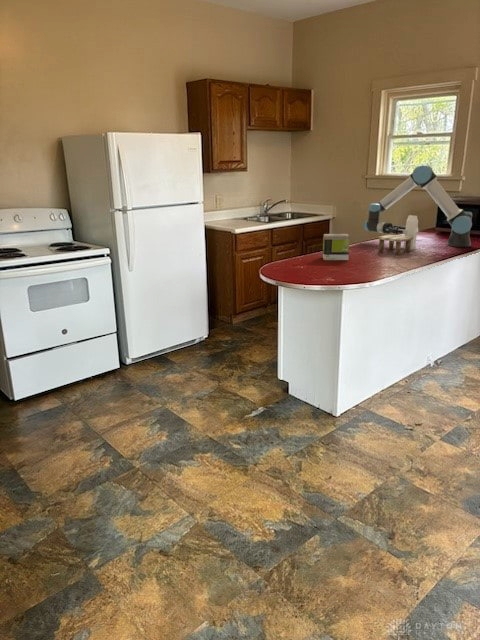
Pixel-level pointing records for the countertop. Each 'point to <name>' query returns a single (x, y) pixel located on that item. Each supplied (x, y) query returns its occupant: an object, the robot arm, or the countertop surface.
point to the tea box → (336, 246)
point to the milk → (411, 230)
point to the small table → (398, 240)
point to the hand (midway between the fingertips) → (413, 231)
